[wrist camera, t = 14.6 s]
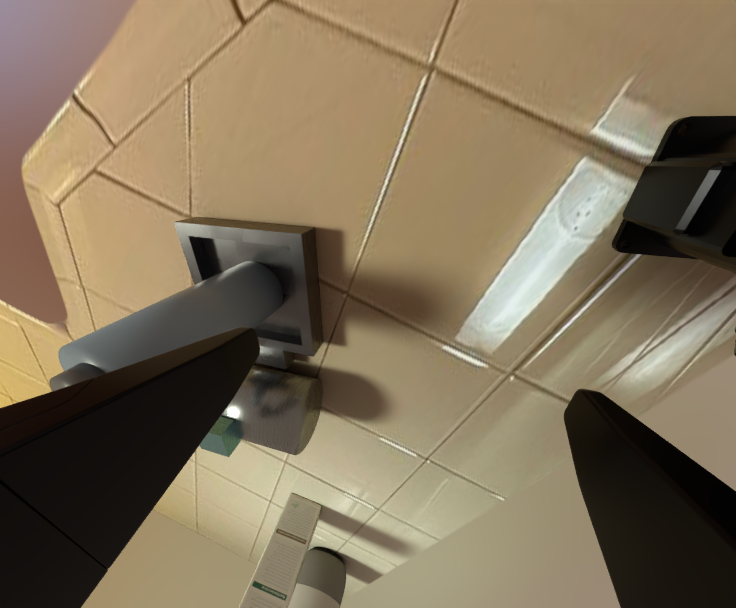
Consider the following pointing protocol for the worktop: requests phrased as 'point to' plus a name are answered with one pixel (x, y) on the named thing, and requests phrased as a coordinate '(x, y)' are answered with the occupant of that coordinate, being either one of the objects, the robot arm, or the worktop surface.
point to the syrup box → (283, 556)
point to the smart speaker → (320, 581)
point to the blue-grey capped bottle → (174, 323)
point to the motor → (266, 330)
